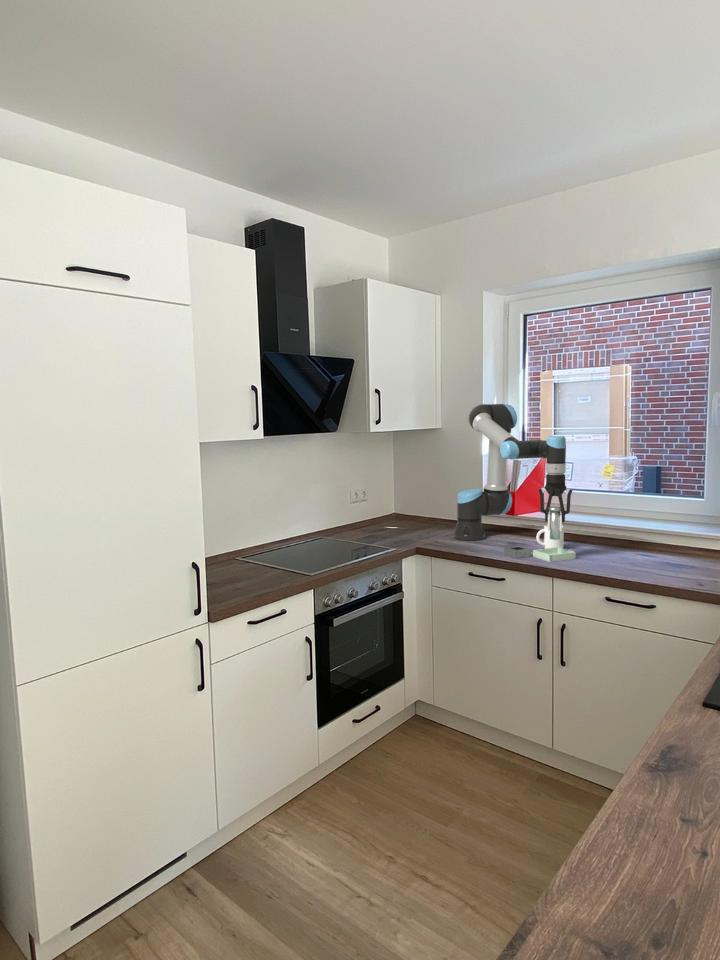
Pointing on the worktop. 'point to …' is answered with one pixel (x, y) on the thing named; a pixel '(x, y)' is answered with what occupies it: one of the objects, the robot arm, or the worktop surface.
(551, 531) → the pin
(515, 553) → the hitch plate
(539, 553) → the tray
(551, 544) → the mug
